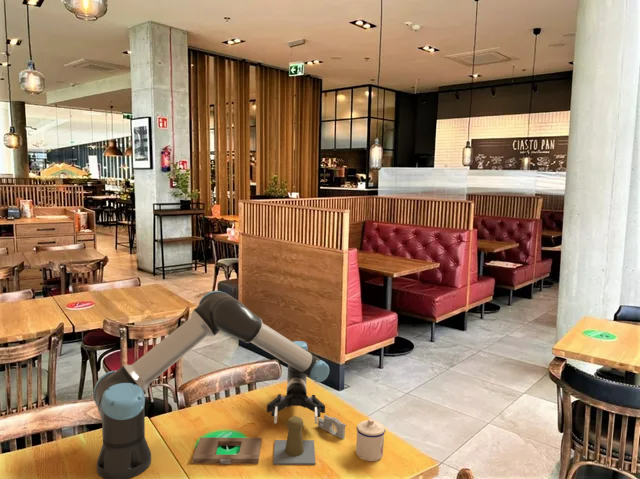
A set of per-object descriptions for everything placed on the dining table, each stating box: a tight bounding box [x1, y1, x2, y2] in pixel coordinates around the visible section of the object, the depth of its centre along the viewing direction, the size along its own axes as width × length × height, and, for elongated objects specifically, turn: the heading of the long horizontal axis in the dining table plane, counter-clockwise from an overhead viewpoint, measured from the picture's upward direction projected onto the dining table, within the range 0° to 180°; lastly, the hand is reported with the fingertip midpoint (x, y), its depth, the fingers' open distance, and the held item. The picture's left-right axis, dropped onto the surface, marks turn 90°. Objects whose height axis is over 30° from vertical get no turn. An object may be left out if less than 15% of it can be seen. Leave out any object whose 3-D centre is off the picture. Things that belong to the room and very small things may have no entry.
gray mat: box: [272, 439, 316, 466], centre depth 153 cm, size 13×13×1 cm
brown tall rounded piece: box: [285, 416, 304, 456], centre depth 153 cm, size 6×6×11 cm
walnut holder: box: [192, 436, 262, 465], centre depth 152 cm, size 20×13×2 cm, turn 93°
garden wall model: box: [317, 414, 347, 440], centre depth 166 cm, size 12×2×6 cm, turn 47°
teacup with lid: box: [355, 418, 386, 462], centre depth 155 cm, size 12×9×12 cm
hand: (295, 419), depth 159 cm, fingers open, 13 cm apart
